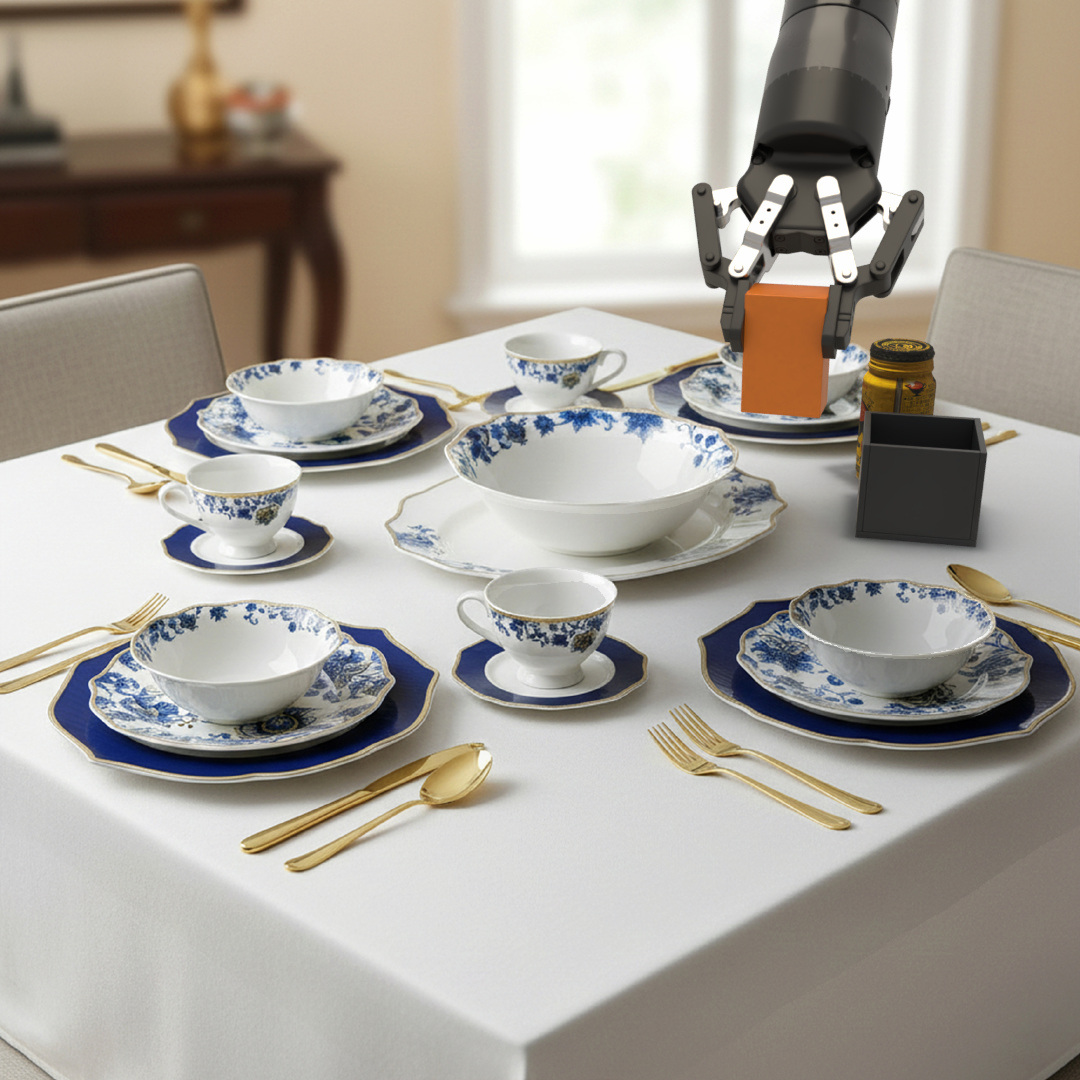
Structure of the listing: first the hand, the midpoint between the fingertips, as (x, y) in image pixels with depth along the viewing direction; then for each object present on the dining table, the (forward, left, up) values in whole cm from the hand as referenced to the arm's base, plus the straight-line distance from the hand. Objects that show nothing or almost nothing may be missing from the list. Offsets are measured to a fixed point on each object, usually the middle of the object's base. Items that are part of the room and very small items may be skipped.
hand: (782, 347), depth 83 cm
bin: (-10, -30, -21) cm, 38 cm away
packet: (0, -2, -4) cm, 5 cm away
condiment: (-9, -41, -22) cm, 47 cm away
